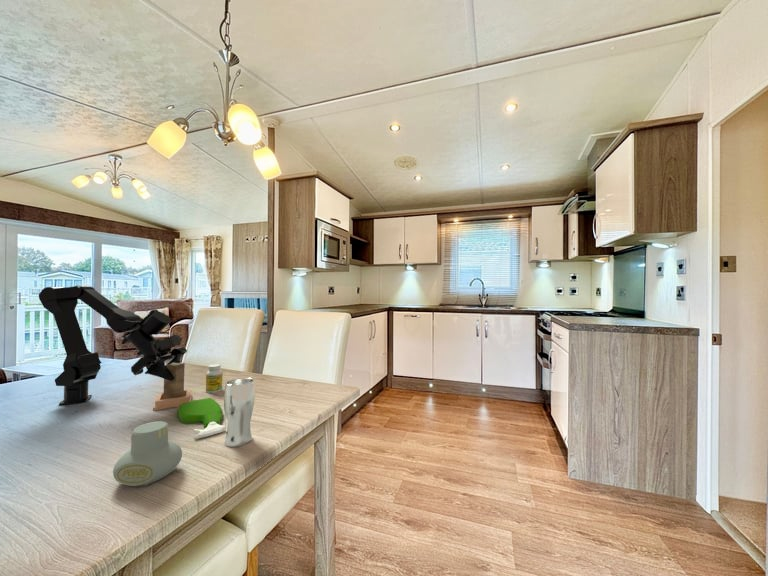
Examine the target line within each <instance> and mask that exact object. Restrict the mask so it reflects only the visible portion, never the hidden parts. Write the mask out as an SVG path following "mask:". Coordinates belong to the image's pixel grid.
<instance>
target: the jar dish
mask: <svg viewBox="0 0 768 576" xmlns="http://www.w3.org/2000/svg"><path fill="white" fill-rule="evenodd" d="M163 396H164V392H160V393H159V392H158V394H157V397H156V400H155V401H154V404H153V407H152V411H156V410H157V411H158V410H165V409H171V408H177V407H178V408H179V406H180V405H181V404H182V403H185V402H190V401H192V396H193V393H191V388H190V389H189V388H188V389H184V397H178V398H171V399H164V400H163Z"/></svg>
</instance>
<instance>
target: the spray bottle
mask: <svg viewBox="0 0 768 576" xmlns="http://www.w3.org/2000/svg"><path fill="white" fill-rule="evenodd" d="M223 413H224V411H223V409H222V407H221V405H220V404H219V402H217V401H216V400H215V399H213V398H211V397H207V398H201V399H195V400H191V401H190V402H185V403H182V404H181V405H180V406H179V407H178V408H177V416H178V420H179V421H180V422H181V423H183V424H203V429H199V428H198V429H197V428H194V429H193V432H196V434H193V439H194V440H198V439H202V438H207V437H209V436H210V437H211V436H213V435H216V434H220V433H222V432H225V431H227V425H221V424H220V423H221V421H222V420H223Z"/></svg>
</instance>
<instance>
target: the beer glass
mask: <svg viewBox="0 0 768 576" xmlns="http://www.w3.org/2000/svg"><path fill="white" fill-rule="evenodd" d="M255 391H256V390H255V379H254V378H251V377H237V378H232V379H229V380H227V381H226V382H225V385H224V393H223V394H224V395H223V406H224V416H225V421H226V436H225V439H224V445H225V446H227V447H229V448H236V447H242V446H244V445H247V444H249V442H251V441H252V439H253V438H252V436H253V435H252V431H251V422H252V415H253V411H254V406H255V399H256V398H255Z"/></svg>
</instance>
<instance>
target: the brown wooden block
mask: <svg viewBox="0 0 768 576" xmlns="http://www.w3.org/2000/svg"><path fill="white" fill-rule="evenodd" d="M185 364H186V363H185V362H180V363H171V364H168V365H167V364H165V366H166V367H167V369H168V370H169V371H170V373H171V374H172V375H173V377H174V380H173V381H170V380H167V379H164V378H163V393H164V396H163V400H164V399H171V398H178V397H184V390H185V368H186V367H185Z"/></svg>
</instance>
